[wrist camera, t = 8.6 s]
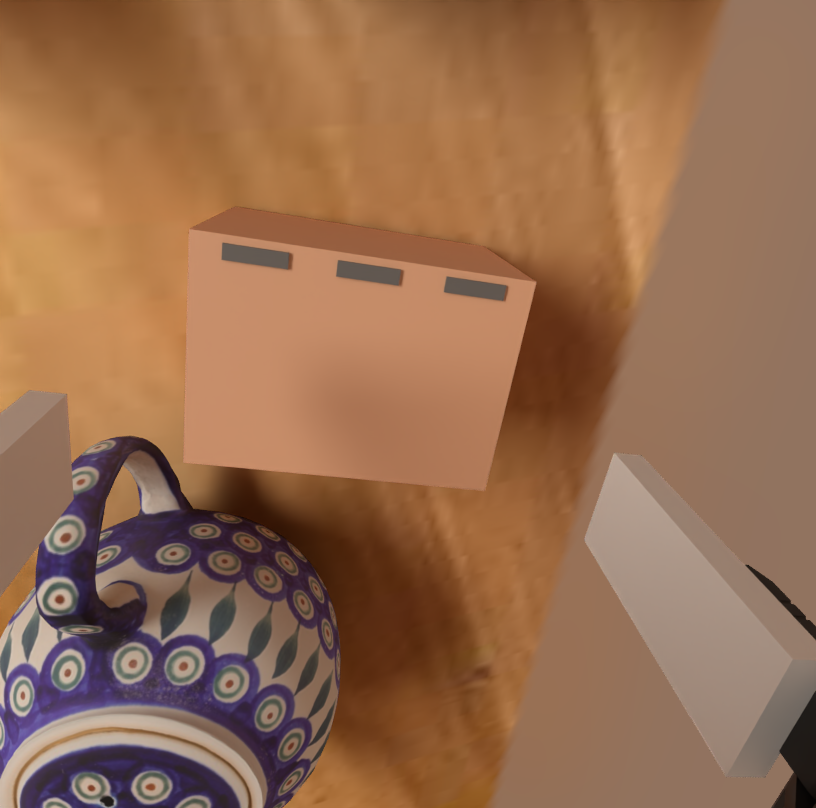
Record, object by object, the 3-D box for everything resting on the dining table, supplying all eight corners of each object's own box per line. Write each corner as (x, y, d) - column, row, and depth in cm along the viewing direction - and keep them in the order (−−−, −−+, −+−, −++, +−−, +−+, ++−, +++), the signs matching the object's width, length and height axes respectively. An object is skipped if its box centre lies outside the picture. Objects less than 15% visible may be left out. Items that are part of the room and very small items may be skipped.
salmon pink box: (234, 206, 25) (188, 229, 18) (484, 246, 27) (537, 282, 19) (225, 381, 28) (182, 464, 21) (450, 407, 30) (485, 492, 22)
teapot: (4, 385, 27) (-330, 609, 14) (328, 373, 29) (312, 565, 15) (112, 757, 37) (-23, 1103, 23) (351, 734, 38) (354, 1051, 25)
